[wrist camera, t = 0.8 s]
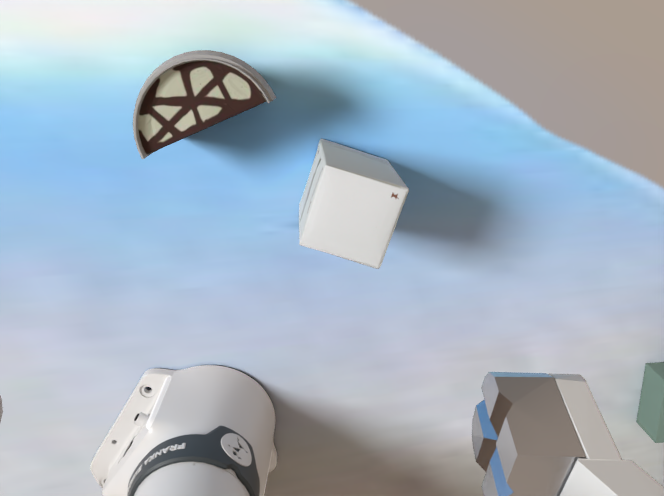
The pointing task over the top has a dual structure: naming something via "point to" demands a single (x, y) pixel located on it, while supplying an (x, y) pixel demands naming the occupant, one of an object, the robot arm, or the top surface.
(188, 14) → the top surface
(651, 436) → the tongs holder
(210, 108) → the food container
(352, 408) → the top surface
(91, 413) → the top surface
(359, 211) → the supplement box
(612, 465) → the robot arm
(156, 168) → the top surface
